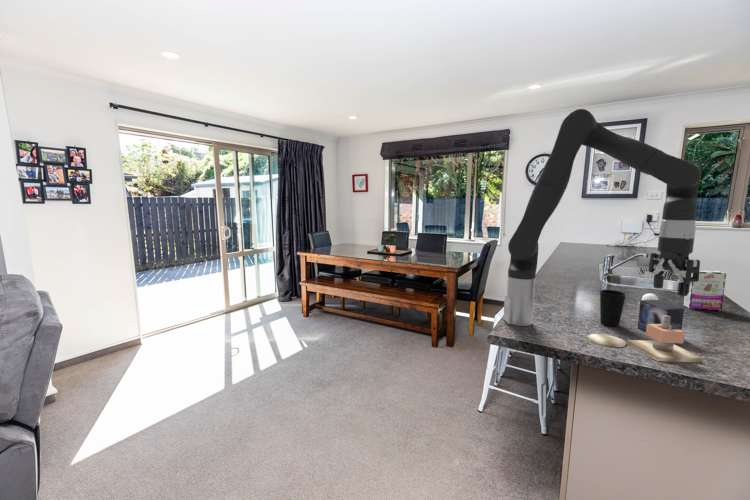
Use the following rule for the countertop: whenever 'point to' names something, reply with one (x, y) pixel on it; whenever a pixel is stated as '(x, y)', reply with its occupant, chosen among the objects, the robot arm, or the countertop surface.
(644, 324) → the small box
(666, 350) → the peg stand
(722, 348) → the countertop surface
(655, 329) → the c link
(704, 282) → the candy bar box
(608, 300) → the cup
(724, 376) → the countertop surface
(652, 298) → the capsule
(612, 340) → the coaster
